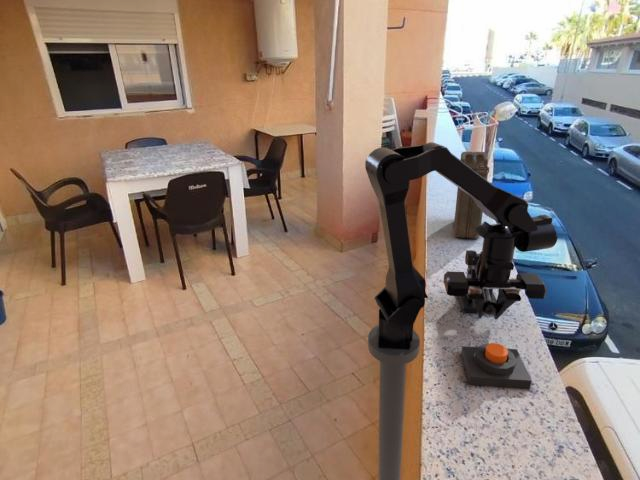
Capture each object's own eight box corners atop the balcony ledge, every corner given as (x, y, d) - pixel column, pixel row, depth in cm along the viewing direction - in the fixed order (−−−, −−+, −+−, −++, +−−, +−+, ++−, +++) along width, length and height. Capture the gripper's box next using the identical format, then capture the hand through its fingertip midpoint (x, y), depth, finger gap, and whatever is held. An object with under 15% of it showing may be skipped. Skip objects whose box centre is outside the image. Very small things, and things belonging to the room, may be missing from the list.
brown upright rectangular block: (454, 218, 137) (460, 150, 127) (478, 220, 134) (487, 150, 124) (453, 239, 121) (460, 162, 111) (481, 241, 118) (491, 163, 108)
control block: (469, 384, 66) (471, 369, 65) (461, 353, 73) (462, 339, 72) (529, 389, 65) (533, 373, 63) (515, 356, 72) (518, 342, 70)
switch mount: (500, 313, 84) (507, 276, 80) (463, 312, 85) (467, 275, 81) (489, 290, 93) (494, 255, 89) (455, 289, 94) (459, 254, 90)
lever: (497, 318, 79) (500, 310, 77) (481, 318, 79) (484, 309, 77) (485, 271, 88) (488, 262, 86) (471, 271, 88) (473, 262, 86)
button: (487, 363, 66) (488, 355, 66) (482, 349, 70) (483, 342, 69) (509, 364, 66) (510, 357, 65) (503, 350, 69) (504, 343, 68)
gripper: (533, 237, 80) (521, 298, 86) (442, 236, 83) (437, 295, 89) (555, 262, 70) (539, 329, 76) (450, 260, 73) (444, 324, 79)
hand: (487, 317), depth 80 cm, fingers closed on lever, 3 cm apart
